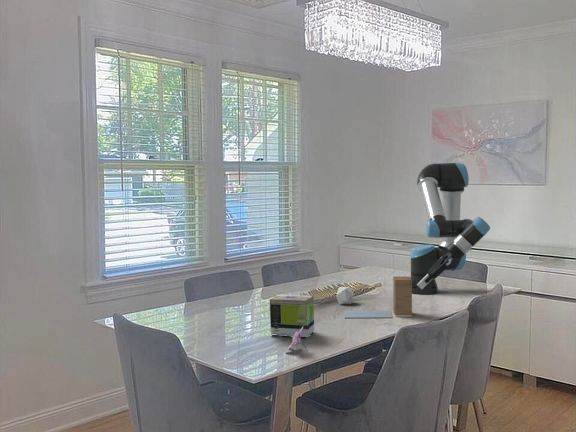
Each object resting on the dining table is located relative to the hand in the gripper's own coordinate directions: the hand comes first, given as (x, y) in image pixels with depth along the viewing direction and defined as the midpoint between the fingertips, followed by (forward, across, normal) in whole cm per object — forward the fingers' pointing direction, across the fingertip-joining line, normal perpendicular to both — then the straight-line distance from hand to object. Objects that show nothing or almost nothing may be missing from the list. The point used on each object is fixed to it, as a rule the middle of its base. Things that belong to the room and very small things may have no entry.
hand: (419, 287), depth 256 cm
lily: (+45, -49, +28) cm, 72 cm away
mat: (+24, 0, +7) cm, 25 cm away
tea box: (+46, -29, +29) cm, 62 cm away
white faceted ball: (+31, +21, +14) cm, 40 cm away
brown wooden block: (+14, 0, -3) cm, 14 cm away
